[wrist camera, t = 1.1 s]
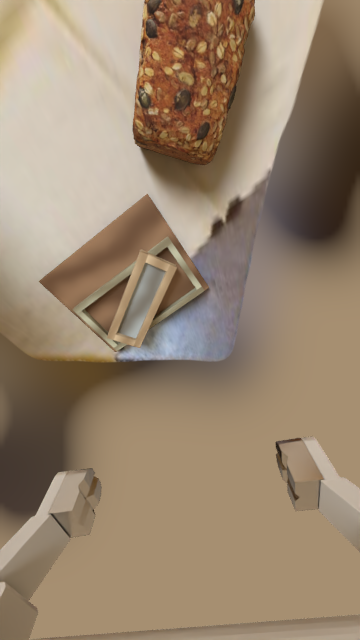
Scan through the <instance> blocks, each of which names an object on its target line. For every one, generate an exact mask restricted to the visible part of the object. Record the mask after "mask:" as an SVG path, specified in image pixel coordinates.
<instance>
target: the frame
mask: <svg viewBox="0 0 360 640" xmlns="http://www.w3.org/2000/svg"><path fill="white" fill-rule="evenodd" d="M176 269H177V267H176V265H175V264H173V263H170V262H168V261H166V260H164V259H162V258H159V257H157V256H155V255H153V254H150V253H148V252H146V251H144V250H140V252H139V255H138V258H137V260H136V263H135V265H134V268H133V270H132V273H131V276H130V278H129V281H128V283H127V286H126V288H125V291H124V294H123V296H122V299H121V301H120V304H119V306H118V309H117V312H116V314H115V317H114V319H113V322H112V324H111V327H110V330H109V332H108V336H107V338H108V339H111V340H115V341H118V342H121V343H125V344H128V345H131V346H135V347H138V348H140V346H141V344H142V342H143V340H144V338H145V335H146V333H147V331H148V329H149V327H150V325H151V323H152V320H153V318H154V316H155V314H156V312H157V310H158V307H159V305H160V303H161V301H162V299H163V297H164V295H165V292H166V290H167V288H168V286H169V284H170V282H171V279H172V277H173V275H174V273H175V271H176Z"/></svg>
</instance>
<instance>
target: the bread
mask: <svg viewBox="0 0 360 640" xmlns="http://www.w3.org/2000/svg"><path fill="white" fill-rule="evenodd" d="M254 4H255V0H145V2H144V8H143V25H142V31H141V46H140V61H139V72H138V76H137V85H136V95H135V112H134V119H133V134H134V140H135V144H137V146H139V147H142V148H145V149H150V150H152V151H155V152H158V153H161V154H164V155H168V156H171V157H174V158H178V159H180V160H184V161H187V162H191V163H195V164H201V165H206V164H207V163H209V162H210V161H212V160H213V157H214V155H215V153H216V151H217V148H218V145H219V143H220V140H221V138H222V134H223V133H222V132H223V130H224V127H225V124H226V120H227V113H228V110H229V109H230V106H231V104H232V102H233V100H234V96H235V92H236V83H237V80H238V77H239V75H240V72H241V69H240V68H241V65H242V58H243V55H244V52H245V51H244V44H245V42H246V39H247V37H248V31H249V28H250V25H251V23H252V21H253V20H254V16H255V7H254Z"/></svg>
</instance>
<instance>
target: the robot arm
mask: <svg viewBox="0 0 360 640" xmlns="http://www.w3.org/2000/svg"><path fill="white" fill-rule="evenodd" d="M276 449H277V452H278V453H277V454H276V458H277V463H278V467H279V470H280V473H281V476H282V478H283V480H284V481H285V482H286V483H287V488H288V494H289V496H290V499H291V501H292V504H293V506H294V509H295V511H303V510H315V509H319V511H320V512H321V513H322V514H323V515H324V517H326V519H327V520H328V521H329V522H330V523H331V524H333V526H334V527H335V528H336V529H337V530H338V531H339V532H340V533H341V534H342V535H343V536H344V537H345V538H346V539H347V540H348V541H349V542H350V543H351V544H352V545H353V546H354V547H355V548H356V549H357V550H358V551H359V552H360V488H358V487H357V486H355V485H354V484H353V483H351V482H350V481H349V480H347V479H346V478H340V477H339V475H338V474H337V472H336V470H335V469H334V467H333V465H332V464H331V462H330V461H329V459H328V457H327V456H326V454H325V453H324V451H323V449H322V448H321V446H320V445H319V443H318V441H317V440H316V438H314V437H313V436H310V437H304V438H295V439H289V440H283V441H277V442H276ZM94 474H95V472H94V471H93V469H92V468H89V469H81V470H74V471H65V472H59V473H58V474H57V475H56V476H55V477H54V479H53V481H52V483H51V485H50V487H49V489H48V491H47V493H46V496H45V498H44V500H43V502H42V504H41V506H40V508H39V510H38V512H37V514H36V516H33V517H31V518H30V519H29V520H28V522H27V523H26V524H25V525H24V526H23V527H22V528H21V529H20V530H19V531H18V532H17V533H16V534H15V535H14V536H13V537H12V538H11V539H10V541H8V542H7V544H6V545H5V546H4V547H3V548H2V549H1V550H0V640H360V615H347V616H334V617H321V618H307V619H293V620H280V621H267V622H255V623H254V622H253V623H240V624H228V625H214V626H202V627H187V628H174V629H161V630H147V631H135V632H121V633H107V634H94V635H80V636H68V637H54V638H41V639H29V638H30V635H31V632H32V629H33V626H34V623H35V620H36V618H37V615H38V610H37V608H36V607H35V606H34V605H33V604H31V603H30V602H29V600H30V598H31V597H32V595H33V593H34V592H35V591H36V589H37V588H38V586H39V585H40V583H41V582H42V581H43V579H44V577H45V576H46V575H47V573H48V572H49V570H50V569H51V567H52V566H53V564H54V563H55V561H56V560H57V558H58V557H59V556H60V554H61V553H62V551H63V550H64V548H65V547H66V545H67V544H68V542H69V541H70V538H72V537H79V536H86V535H89V534H90V532H91V529H92V525H93V522H94V519H95V512H94V509H95V507H96V506H97V505H98V503H99V501H100V497H101V482H100V481H99V479H98V478H96V477H95V476H94Z"/></svg>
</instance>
